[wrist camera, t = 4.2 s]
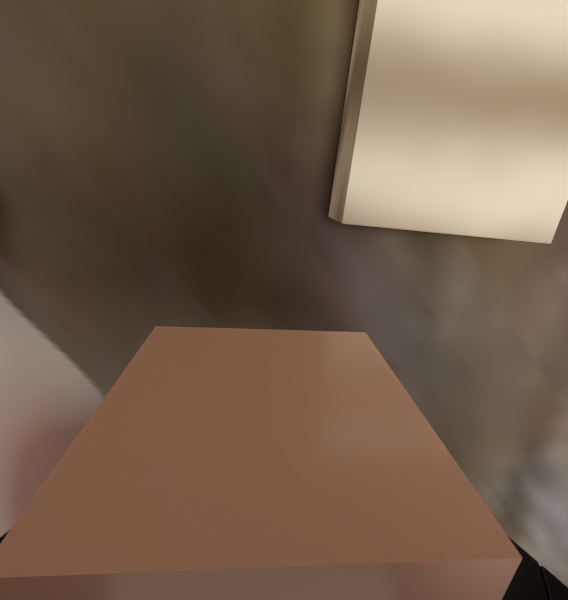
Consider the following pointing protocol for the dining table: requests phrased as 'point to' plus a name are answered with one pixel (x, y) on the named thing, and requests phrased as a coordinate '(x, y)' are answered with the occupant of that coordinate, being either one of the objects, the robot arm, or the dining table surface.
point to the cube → (256, 484)
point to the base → (456, 118)
